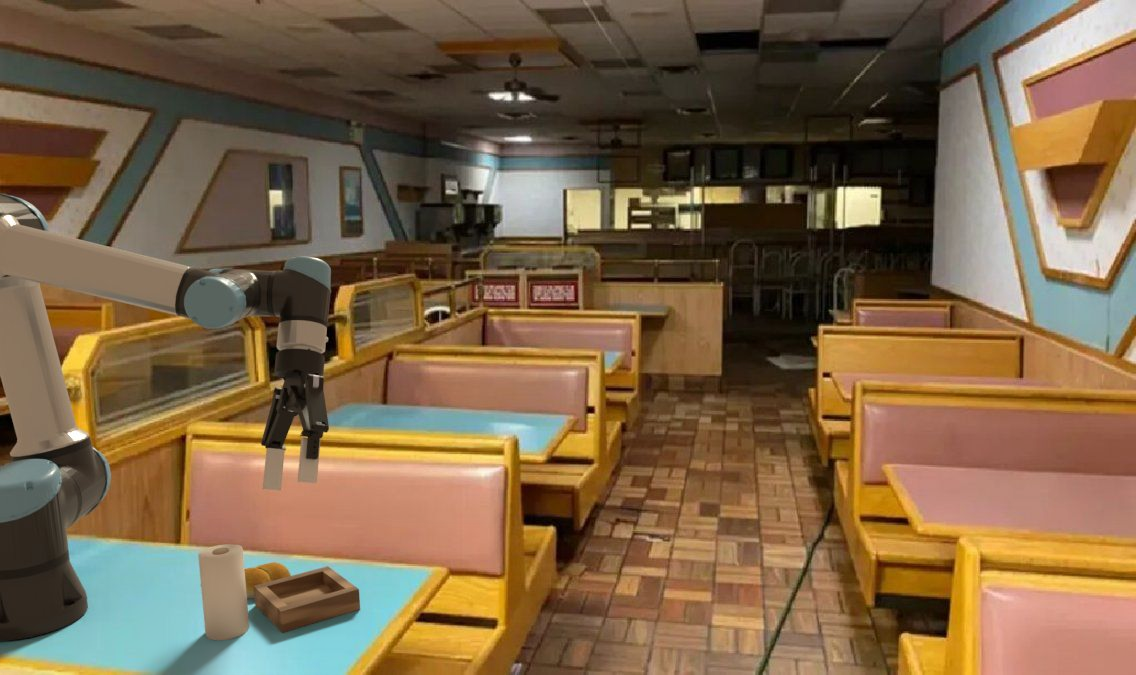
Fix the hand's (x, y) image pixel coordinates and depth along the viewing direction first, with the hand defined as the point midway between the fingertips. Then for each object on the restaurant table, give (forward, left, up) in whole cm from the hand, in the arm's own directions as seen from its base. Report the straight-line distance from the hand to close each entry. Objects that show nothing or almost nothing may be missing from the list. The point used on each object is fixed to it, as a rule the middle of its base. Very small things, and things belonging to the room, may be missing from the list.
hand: (288, 486), depth 143 cm
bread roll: (-8, -3, -19) cm, 21 cm away
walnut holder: (+4, 0, -18) cm, 19 cm away
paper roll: (+4, -12, -18) cm, 22 cm away
